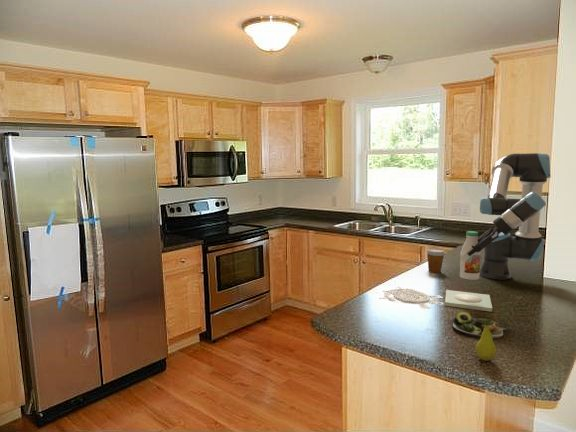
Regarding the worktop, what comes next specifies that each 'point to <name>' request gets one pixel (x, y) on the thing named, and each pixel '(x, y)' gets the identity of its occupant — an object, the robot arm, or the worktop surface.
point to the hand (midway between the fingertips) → (461, 257)
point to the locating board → (468, 300)
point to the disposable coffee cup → (435, 260)
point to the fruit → (486, 345)
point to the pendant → (412, 297)
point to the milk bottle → (472, 265)
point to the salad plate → (476, 325)
